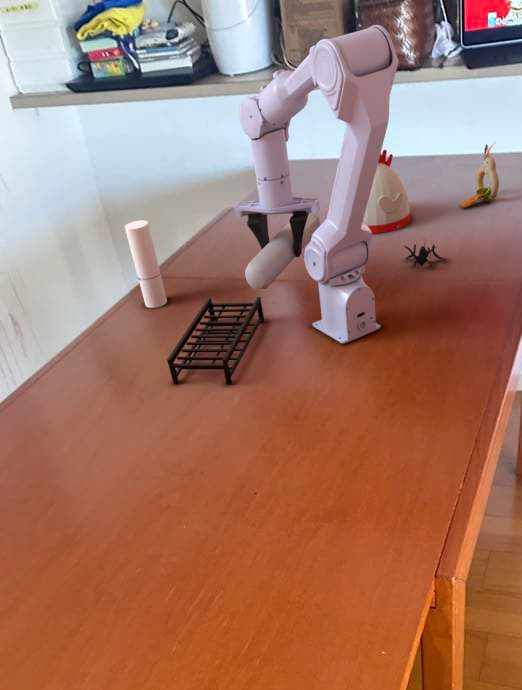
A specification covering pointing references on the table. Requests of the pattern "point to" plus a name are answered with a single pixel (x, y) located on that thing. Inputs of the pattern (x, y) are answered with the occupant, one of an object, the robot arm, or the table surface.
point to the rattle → (482, 192)
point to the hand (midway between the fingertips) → (283, 255)
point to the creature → (422, 255)
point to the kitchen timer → (386, 199)
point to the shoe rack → (211, 323)
